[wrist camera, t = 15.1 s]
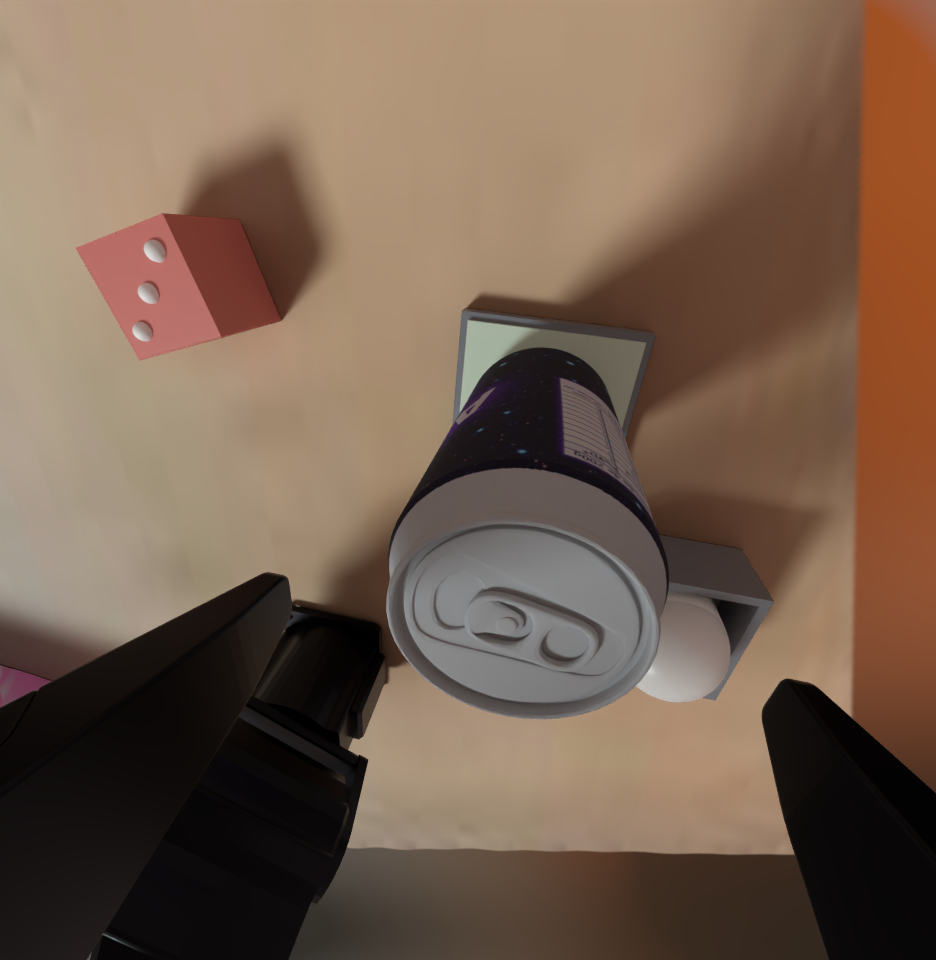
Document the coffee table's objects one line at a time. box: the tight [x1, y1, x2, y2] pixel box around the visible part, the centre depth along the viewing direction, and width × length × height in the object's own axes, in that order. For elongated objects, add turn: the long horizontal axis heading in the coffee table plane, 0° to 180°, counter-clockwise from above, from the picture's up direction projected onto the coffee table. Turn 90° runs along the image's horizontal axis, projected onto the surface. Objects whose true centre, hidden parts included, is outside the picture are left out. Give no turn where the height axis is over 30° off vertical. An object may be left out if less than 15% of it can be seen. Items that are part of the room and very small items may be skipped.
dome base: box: [659, 535, 774, 700], centre depth 21 cm, size 6×6×4 cm
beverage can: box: [386, 347, 669, 719], centre depth 13 cm, size 6×6×12 cm
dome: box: [636, 590, 731, 702], centre depth 19 cm, size 5×5×5 cm
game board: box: [452, 308, 656, 439], centre depth 22 cm, size 7×21×1 cm, turn 174°
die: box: [76, 213, 281, 360], centre depth 17 cm, size 4×4×4 cm
